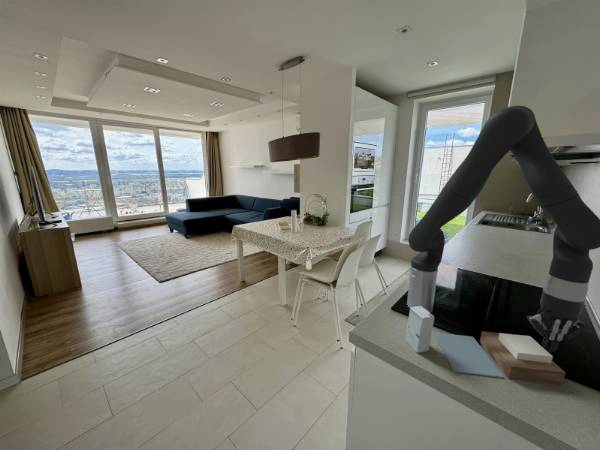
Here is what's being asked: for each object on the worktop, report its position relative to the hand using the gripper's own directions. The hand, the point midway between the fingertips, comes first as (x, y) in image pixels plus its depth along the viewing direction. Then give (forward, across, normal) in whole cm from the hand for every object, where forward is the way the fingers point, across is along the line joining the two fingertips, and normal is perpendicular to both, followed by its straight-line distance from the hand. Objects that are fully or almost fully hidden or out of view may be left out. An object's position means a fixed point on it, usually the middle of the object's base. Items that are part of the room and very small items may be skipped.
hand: (548, 349), depth 67 cm
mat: (+5, +20, -1) cm, 21 cm away
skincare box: (+5, +33, -2) cm, 34 cm away
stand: (+5, +7, 0) cm, 9 cm away
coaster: (+1, +6, 0) cm, 6 cm away
